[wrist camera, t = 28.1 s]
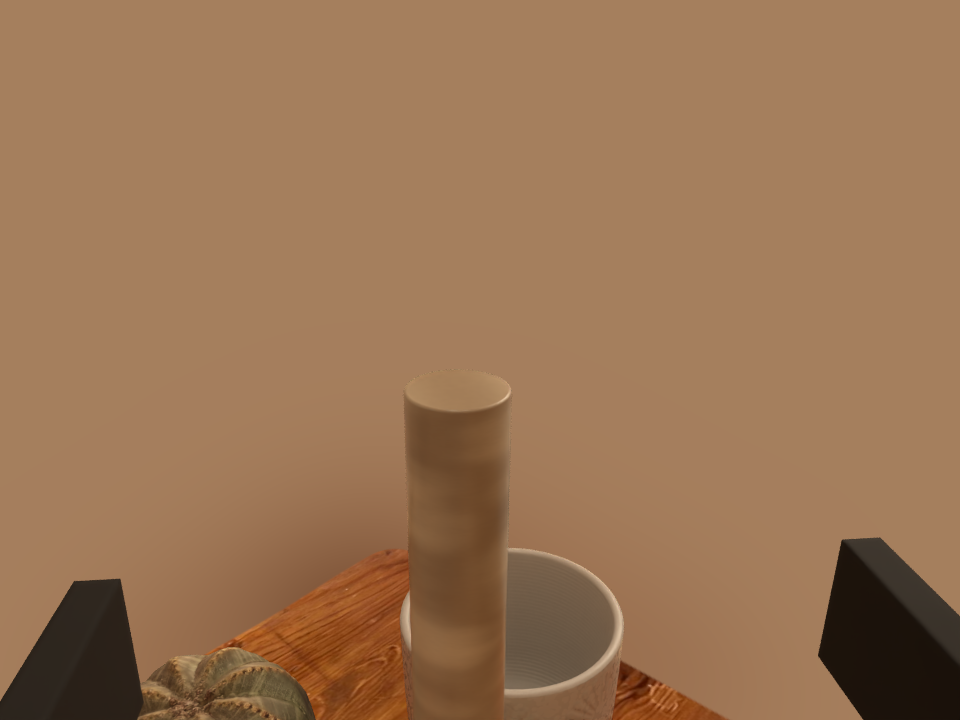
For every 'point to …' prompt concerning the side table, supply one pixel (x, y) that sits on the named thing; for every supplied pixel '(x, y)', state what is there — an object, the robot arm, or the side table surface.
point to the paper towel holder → (458, 541)
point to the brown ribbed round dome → (223, 689)
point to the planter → (551, 641)
